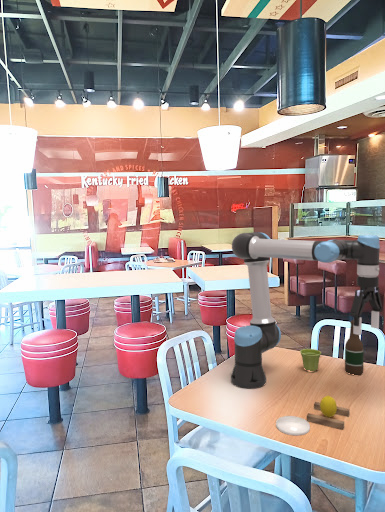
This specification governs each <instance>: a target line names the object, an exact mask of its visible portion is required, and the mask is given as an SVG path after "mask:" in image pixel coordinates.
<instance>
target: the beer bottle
mask: <svg viewBox="0 0 385 512" xmlns="http://www.w3.org/2000/svg"><path fill="white" fill-rule="evenodd" d="M353 323H354V319H352V320H350V323H349V324H350V330H349V336H348V339H347V340H346V343H345V347H344V372H345V371H346V372H348V373H350V374H354V375H358V376H362V375H363V374H364V360H365V359H364V354H365V353H364V352H365V349H364V343H363V341H362V340H361V338H360V335H357V334H353ZM346 372H345V373H346ZM362 373H363V374H362ZM361 374H362V375H361ZM354 375H353V376H354Z"/></svg>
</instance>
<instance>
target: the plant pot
mask: <svg viewBox="0 0 385 512" xmlns="http://www.w3.org/2000/svg"><path fill="white" fill-rule="evenodd" d="M299 353H300V355H301V359H302V366H303V369H304V368H305V369H306V370H310V371H315V370H317V369H318V370H319V361H320V357H321V355H322V351H320V350H318V349H315V348H313V349H312V348H303V349H300V350H299ZM315 372H316V371H315Z"/></svg>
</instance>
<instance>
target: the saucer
mask: <svg viewBox="0 0 385 512" xmlns="http://www.w3.org/2000/svg"><path fill="white" fill-rule="evenodd" d="M275 427H276V429H277V430H278V431H279V432H281V433H283V434H285V435H288V436H304V435H306V434H308V433H309V432H310V429H311V425H310V422H308V421H307V419H305V418H303V417H300V416H294V415H284V416H281V417H279V418H277V420H276V421H275Z"/></svg>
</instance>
